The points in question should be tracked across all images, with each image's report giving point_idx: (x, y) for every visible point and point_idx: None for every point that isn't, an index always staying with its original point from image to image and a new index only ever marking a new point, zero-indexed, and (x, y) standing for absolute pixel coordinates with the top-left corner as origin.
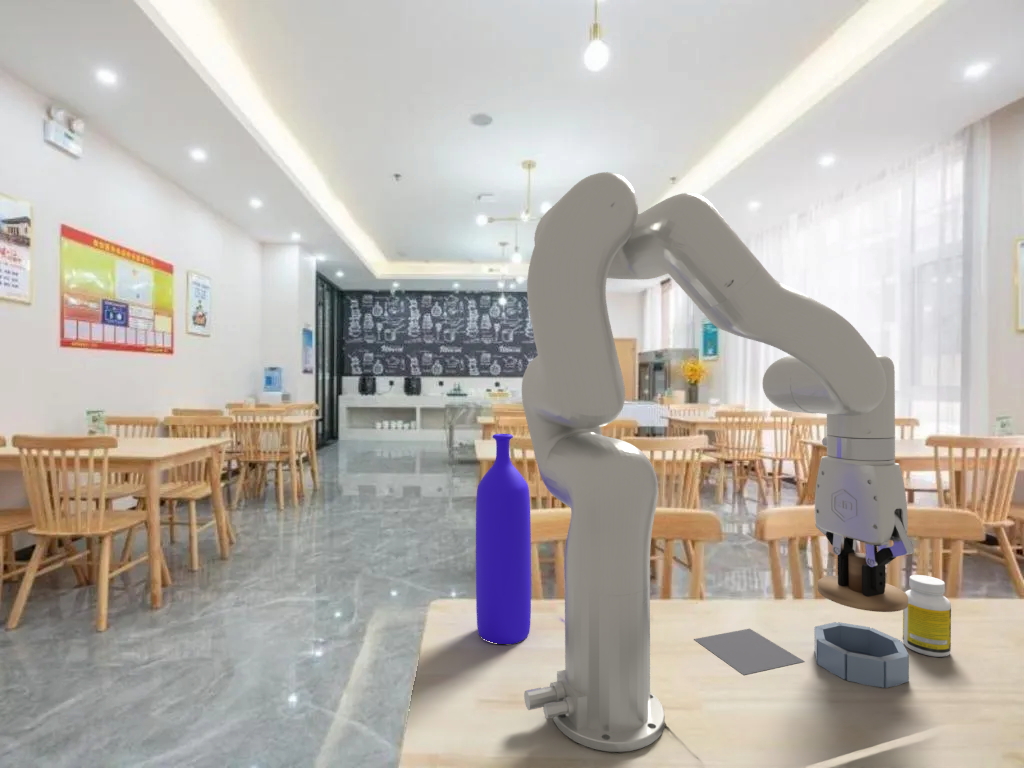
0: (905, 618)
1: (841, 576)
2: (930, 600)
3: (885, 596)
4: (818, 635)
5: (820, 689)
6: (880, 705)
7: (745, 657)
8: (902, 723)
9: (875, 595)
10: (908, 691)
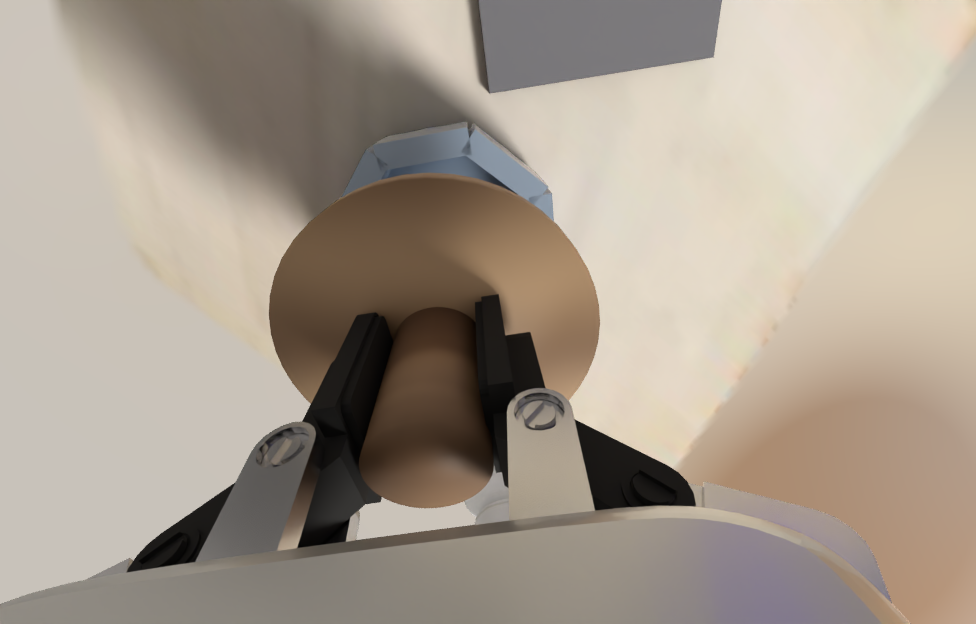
0: None
1: (483, 319)
2: (479, 492)
3: None
4: (497, 156)
5: (370, 40)
6: (297, 152)
7: None
8: (225, 143)
9: None
10: None
